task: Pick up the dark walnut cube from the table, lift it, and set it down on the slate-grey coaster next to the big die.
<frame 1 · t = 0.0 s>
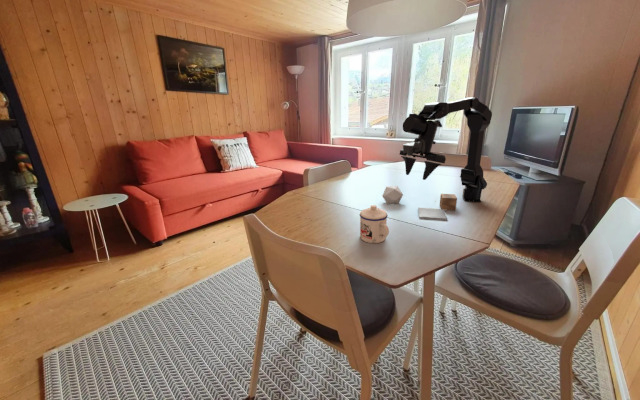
hand: (415, 177, 102), 15 cm above the table, tool pointing down, fingers open, 9 cm apart
teacup with lid: (375, 239, 88), on the table
die: (392, 203, 120), on the table
walnut cube: (447, 208, 111), on the table
coaster: (431, 214, 105), on the table
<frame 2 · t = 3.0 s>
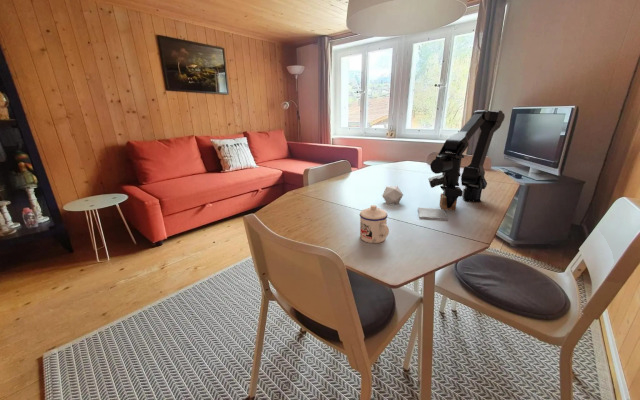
hand: (447, 205, 111), 1 cm above the table, tool pointing down, fingers closed on walnut cube, 5 cm apart
walnut cube: (447, 207, 111), on the table, touching gripper
everything else where it was.
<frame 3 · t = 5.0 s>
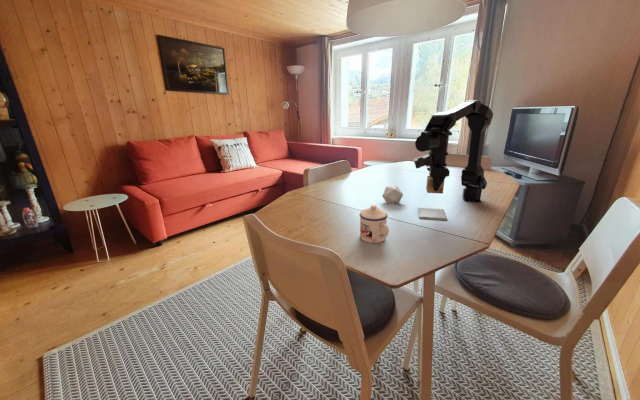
hand: (434, 188, 102), 11 cm above the table, tool pointing down, fingers closed on walnut cube, 5 cm apart
walnut cube: (434, 191, 102), point 10 cm above the table, touching gripper
everything else where it was.
when the fingers open (3 cm above the table, at t = 6.9 s): walnut cube drops 1 cm, resting on coaster.
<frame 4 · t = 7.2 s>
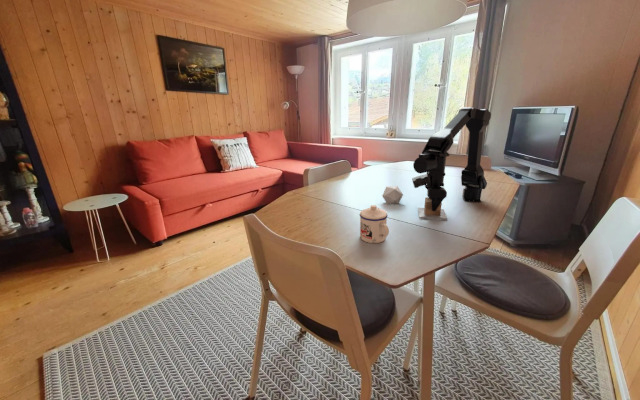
hand: (432, 207, 104), 3 cm above the table, tool pointing down, fingers open, 8 cm apart
walnut cube: (431, 212, 105), point 1 cm above the table, touching coaster
everything else where it was.
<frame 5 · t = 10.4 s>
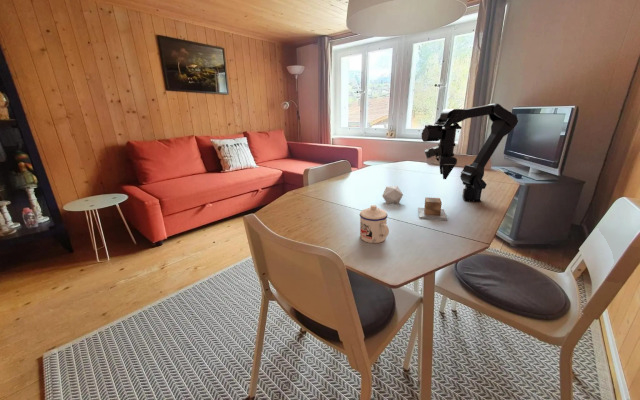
hand: (443, 176, 114), 12 cm above the table, tool pointing down, fingers open, 9 cm apart
nothing on the table moved.
at the end: walnut cube inside the target area on the coaster (0.0 cm from its centre), point 0.8 cm above the coaster's base; walnut cube tilted 0°; the gripper is holding nothing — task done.
